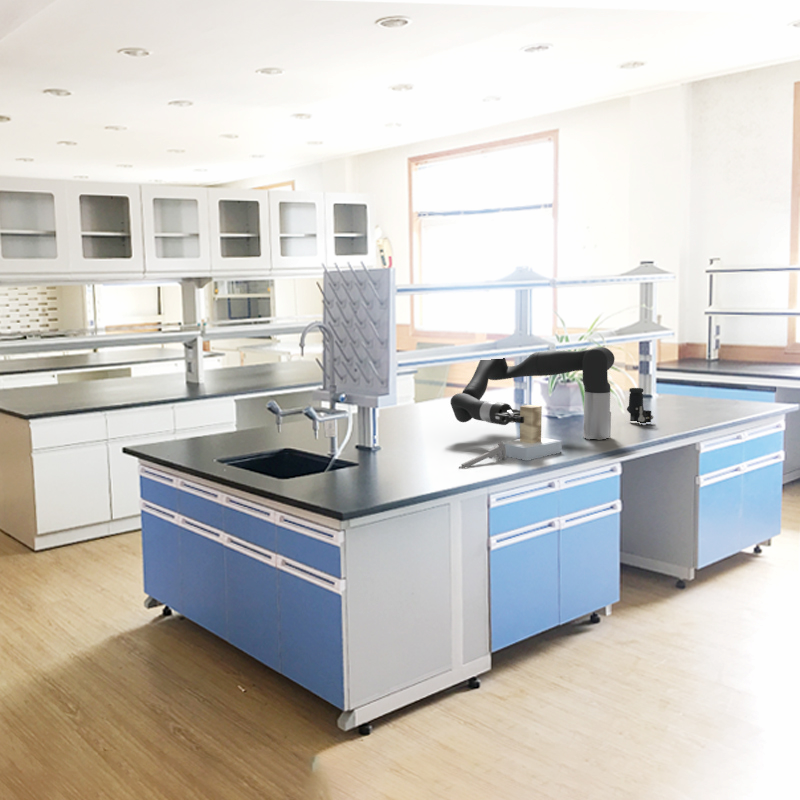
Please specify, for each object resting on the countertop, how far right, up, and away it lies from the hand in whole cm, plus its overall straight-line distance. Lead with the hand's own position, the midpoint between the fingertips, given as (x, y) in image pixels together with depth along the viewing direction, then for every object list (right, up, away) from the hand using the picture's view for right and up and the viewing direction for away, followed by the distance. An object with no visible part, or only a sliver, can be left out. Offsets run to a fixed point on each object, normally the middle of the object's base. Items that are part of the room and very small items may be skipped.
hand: (531, 418), depth 282 cm
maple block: (0, -8, +1) cm, 8 cm away
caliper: (-18, -15, -11) cm, 26 cm away
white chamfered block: (0, -12, +2) cm, 12 cm away
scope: (+51, -3, +57) cm, 76 cm away
